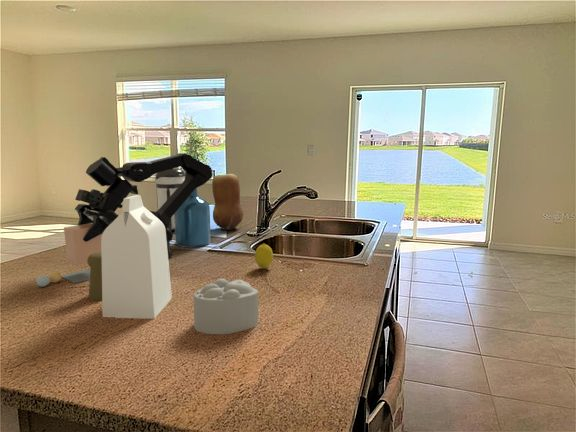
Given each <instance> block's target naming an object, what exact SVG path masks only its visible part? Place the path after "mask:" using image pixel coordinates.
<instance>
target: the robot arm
mask: <svg viewBox="0 0 576 432" xmlns="http://www.w3.org/2000/svg"><path fill="white" fill-rule="evenodd" d="M179 167H180V168H181V169H182V170H183V171H184V172H186V175H185V180H184V181H183V183H182V184H181V185H180V186H179V187H178V188H177V189H176V191H175V192H174V193H173V194H172V195H171V196H170V197H169V199H168V200H167V201H166V202H165V203H164V204H163V205H162V206H161V208H160V209H159V210H158V209H157V210H156V211H152V210H149V211H150V212H151V213H152V214H153V215H155V216H156V217H157V218H158V219H159V220H160V221H161V222H162V223H163V224H164V226H165V229H166V240H167V250H168V259H169V258H172V257H173V254H171V244H170V242H172V240H173V237H174V235H173V233H170V232H169V231H168V229H167V228H168V227H169V222H170V219H171V217H172V216H173V215H174V214H175V212H176V211H177V210H178V209H179V208H180V207H181V205H182V204H183V203H184V202H185V201H186V199H187V198H188V197H189V196H190V195H191V194H192V192H193V191H194V190H195V189H196V188H197V189H198V188H200V187H202V186H203V185H205V184H206V183H208V181H210V180H211V179H212V177H213V171H212V170H213V169H212V167H211V166H210V165H208V164H205V163H204V162H202V161H200V160H198V159H196V158H194V157H193V156H192V155H190V153H182V152H181V153H177V154H174V155H170V156H166V157H162V158H158V159H155V160H151V161H138V162H137V161H135V162H126V163H124V164H122V166H121V167H115V165H113V164H112V163H111V162H110V161H109V159H108V158H106V157H105V156H101V157H100V158H99V159H97V160H95V161H94V162H92V163H91V164H90V165H89V166H88V167H87V168H86V171H85V174H87V175H88V176H89V177H90V178H91V179H92V180H94V181H95V182H96V183H97V184H98V185H100V186H101V187H105V186H106V187H107V188H106V190H104V192H101V190H98V189H95V188H94V189H93V188H92V189H91V190H90V191H89V190H85V189H80V188H79V189H78V191H77V194H76V196H75V199H74V200H76V201H77V202H78V201H79V202H83V203H78V204H77V206H76V207H74V210H75V211H76V212H77V214H78V217H79V220H78V223H77V225H83V224H90V223H93V224H92V225H91V227H90V229H89V230H88V232H87V233H86V235H85V237H84V238H83V240H84V241H85V242H87V241H89V240H91V239H93V238H95V237H97V236H98V235H100V234H102V233H103V232H104V230H105V229H106V228H107V227H108V226H109V225H110V224H111V223H112V222H113V221H114V220H115V219H116V218H117V217H118V216H119V215H118V214H117V213H116V211H117V210H118V209H123V200H124V198H127V197H129V194H132V195H139V189H138V185H136V184H132V183H133V182H135V183H142V182H143V181H144V182H145V180H148V179H150V178H151V177H153V176H154V175H155V174H156V173H158V172H162V171H166V170H169V169H173V168H179ZM131 182H132V183H131Z"/></svg>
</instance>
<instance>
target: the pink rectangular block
mask: <svg viewBox="0 0 576 432" xmlns="http://www.w3.org/2000/svg"><path fill="white" fill-rule="evenodd" d="M92 224H93V223H90V224H83V225H78V224H77V225H71V226H65V227H63V232H64V243H65V253H66V261H67V263H70V264H72V265H73V266H81V265H85V264H88V262H87V260H88V257H89V255H91V254H93V253H98V252H101V237H102V234H103V233H102V234H100V235H98V236H97V237H95V238H93V239H91V240H89V241H87V242H85V241H84V240H83V238H84V237H85V235H86V233H87V232H88V230H89V229H90V227H91V225H92Z"/></svg>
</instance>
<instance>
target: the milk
mask: <svg viewBox="0 0 576 432" xmlns="http://www.w3.org/2000/svg"><path fill="white" fill-rule="evenodd" d="M122 205H123V206H122V212H121V213H120V214H119V215H118V217H117V218H116V219H115V220H114V221H113V222H112V223H111V224H110V225H109V226H108V227H107V228H106V229H105V230H104V232H103V234H102V237H101V255H102V300H101V301H102V304H101V305H102V318H103V317H115V318H114V319H148V320H149V319H151V320H152V319H153V320H154V319H156V318H157V316H158V315H159V314H160V313H161V312H162V310H163V309H164V308H165V307H166V305H167V304H168V303H170V301H171V300H172V298H173V295H172V286H171V285H172V284H171V283H172V282H171V275H170V272H171V271H170V265H169V264H170V262H169V258H168V250H167V240H166V229H165V226H164V224H163V223H162V222H161V221H160V220H159V219H158V218H157V217H156V216H155V215H153V214H152V213H151V212H150V211H151V210H149V209H147V207H145V206H144V203H143V200H142V195H141V194H140V195H139V194H133V195H131V196H127V197H126V198H124V200H123V202H122Z"/></svg>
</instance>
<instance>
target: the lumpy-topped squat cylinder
mask: <svg viewBox="0 0 576 432" xmlns="http://www.w3.org/2000/svg"><path fill="white" fill-rule="evenodd" d="M258 295H259V292H258V290H257V289H256V288H254V287H252V286H251V284H250V283H249V282H247V281H244V280H242V279H234V280H232V281H228V280H227V279H225V278H217V279H216V280H214V281H213V282H212V283H208V284H206V285H204V286H203V287H202V288H200V289H198V290H197V291H195V292H194V294H193V296H192V297H193V321H194V324H193V325H194V326H193V327H194V329H195V331H197V332H198V333H202V334H207V335H228V334H233V333H240V332H242V331H243V332H244V331H248V330H250V329H252V328H255V327H257V326H258V324H259V296H258Z"/></svg>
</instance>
